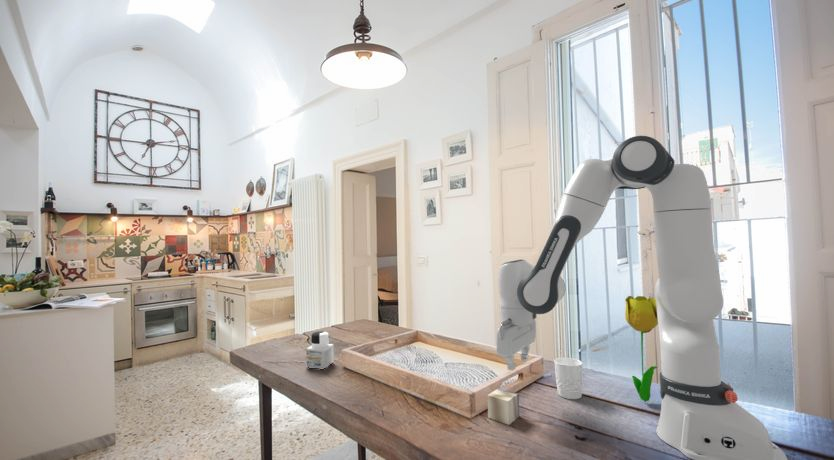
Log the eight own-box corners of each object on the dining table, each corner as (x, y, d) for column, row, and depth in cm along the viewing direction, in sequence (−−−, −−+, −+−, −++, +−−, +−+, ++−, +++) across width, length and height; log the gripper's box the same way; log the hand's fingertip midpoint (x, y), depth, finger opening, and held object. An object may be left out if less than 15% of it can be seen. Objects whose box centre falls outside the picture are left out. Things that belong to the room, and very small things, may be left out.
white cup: (553, 397, 108) (552, 363, 109) (557, 388, 115) (555, 356, 116) (582, 402, 105) (581, 367, 105) (584, 392, 112) (583, 359, 112)
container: (306, 368, 140) (305, 334, 140) (317, 362, 147) (316, 329, 147) (323, 370, 137) (323, 335, 138) (334, 363, 145) (333, 330, 145)
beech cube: (518, 393, 98) (508, 401, 93) (519, 416, 97) (508, 425, 93) (498, 388, 102) (487, 395, 97) (499, 409, 101) (488, 418, 97)
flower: (621, 400, 105) (617, 296, 106) (638, 394, 109) (634, 293, 110) (652, 412, 97) (647, 300, 99) (670, 405, 101) (664, 297, 102)
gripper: (511, 324, 95) (514, 377, 94) (538, 311, 111) (541, 357, 111) (489, 321, 99) (492, 373, 98) (518, 309, 115) (521, 354, 114)
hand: (518, 364), depth 105 cm, fingers open, 8 cm apart
